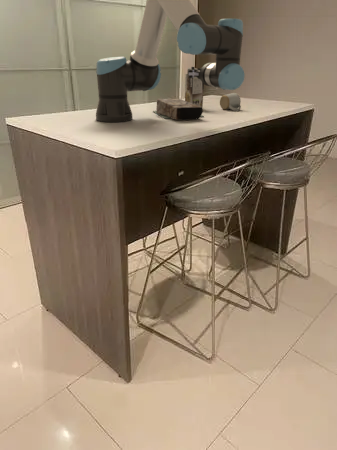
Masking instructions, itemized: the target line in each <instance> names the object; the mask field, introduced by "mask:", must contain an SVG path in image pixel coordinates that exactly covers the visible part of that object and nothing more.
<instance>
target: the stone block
mask: <svg viewBox="0 0 337 450" xmlns="http://www.w3.org/2000/svg"><path fill="white" fill-rule="evenodd" d="M155 111H157V112H156V113H157V114H160V115H164V116H167V117H170V118H173V120H178V121H179V120H180V121H181V120H183V121H185V120H186V121H187V120H199V119H200V118H202V117H201V115H203V111H204V107H203V108H202V107H199V106H197V105H194V104H192V103H189V102H187V101H185V99H181V98H157V99H156V110H155ZM156 113H155V114H156ZM157 114H156V115H157Z"/></svg>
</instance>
